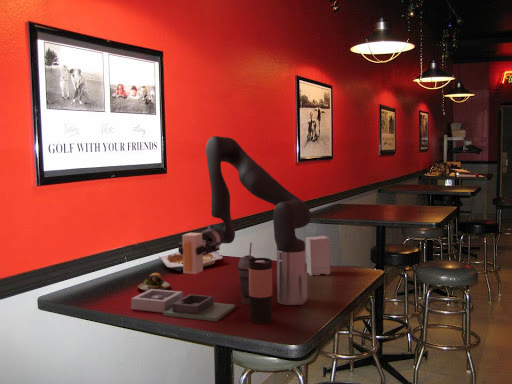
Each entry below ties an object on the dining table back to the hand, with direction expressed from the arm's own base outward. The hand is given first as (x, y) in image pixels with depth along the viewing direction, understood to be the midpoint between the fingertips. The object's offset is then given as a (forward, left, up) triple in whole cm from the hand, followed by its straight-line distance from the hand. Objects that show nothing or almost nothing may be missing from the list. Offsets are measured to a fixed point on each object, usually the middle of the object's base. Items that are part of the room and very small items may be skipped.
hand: (189, 251), depth 166 cm
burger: (+25, -19, -19) cm, 37 cm away
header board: (-3, 0, -19) cm, 19 cm away
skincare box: (-26, -59, -19) cm, 68 cm away
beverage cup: (-14, -14, -19) cm, 28 cm away
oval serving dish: (+31, -59, -19) cm, 70 cm away
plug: (0, -3, -7) cm, 7 cm away
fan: (+11, -5, -19) cm, 22 cm away
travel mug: (-24, +2, -19) cm, 31 cm away
